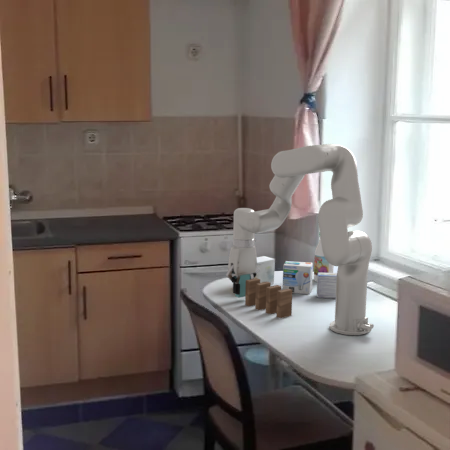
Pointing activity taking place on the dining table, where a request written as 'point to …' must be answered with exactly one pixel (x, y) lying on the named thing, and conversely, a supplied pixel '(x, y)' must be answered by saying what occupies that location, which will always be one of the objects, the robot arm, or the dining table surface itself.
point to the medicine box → (326, 285)
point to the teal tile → (243, 285)
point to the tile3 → (261, 295)
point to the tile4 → (251, 291)
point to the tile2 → (272, 299)
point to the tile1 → (284, 303)
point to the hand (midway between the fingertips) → (242, 292)
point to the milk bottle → (321, 262)
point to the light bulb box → (298, 277)
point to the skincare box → (265, 269)
